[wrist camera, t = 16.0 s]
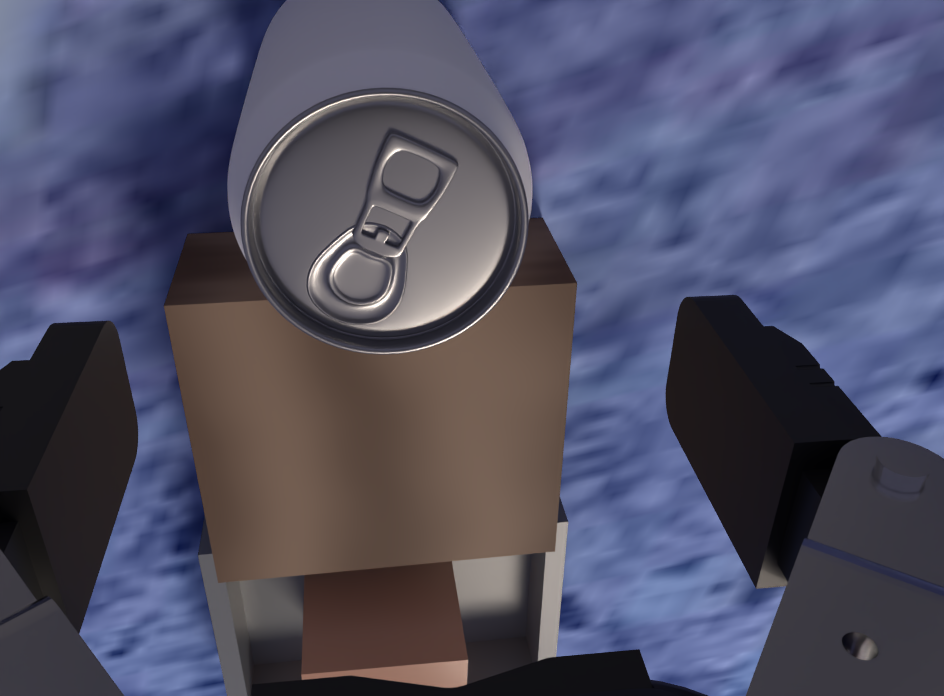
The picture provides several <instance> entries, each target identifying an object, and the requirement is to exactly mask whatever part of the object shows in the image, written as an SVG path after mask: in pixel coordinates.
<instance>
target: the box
mask: <svg viewBox="0 0 944 696" xmlns="http://www.w3.org/2000/svg"><path fill="white" fill-rule="evenodd" d="M567 529H568V520H567V517H566V514H565V511H564V508H563V505H562V502H561V499H560V497H559V509H558V521H557V533H556V546H555V552H544V553H534V554H523V555H512V556H502V557H491V558H480V559H470V560H459V561H452V565H453V571H454V577H455V583H456V589H457V595H458V601H459V607H460V613H461V619H462V626H463V632H464V638H465V644H466V650H467V656H468V672H467V684H470V683H473V682H476V681H479V680H482V679H485V678H488V677H491V676H494V675H497V674H500V673H503V672H506V671H509V670H512V669H515V668H518V667H521V666H524V665H527V664H530V663H533V662H536V661H539V660H542V659H545V658H550V657H556V651H557V640H558V629H559V618H560V607H561V595H562V584H563V573H564V562H565V551H566V540H567ZM198 558H199V562H200V567H201V572H202V577H203V582H204V587H205V591H206V596H207V601H208V606H209V611H210V615H211V620H212V625H213V630H214V635H215V639H216V644H217V649H218V654H219V659H220V664H221V668H222V673H223V678H224V683H225V688H226V692H227V696H251V690H252V684H261V683H272V682H283V681H294V680H302V676H301V671H302V638H303V606H304V575H299V576H288V577H278V578H267V579H256V580H246V581H235V582H224V583H218V580H217V575H216V570H215V565H214V559H213V554H212V549H211V544H210V539H209V534H208V529H207V524H206V519H205V518H204V523H203V529H202V535H201V541H200V546H199V552H198Z"/></svg>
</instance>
